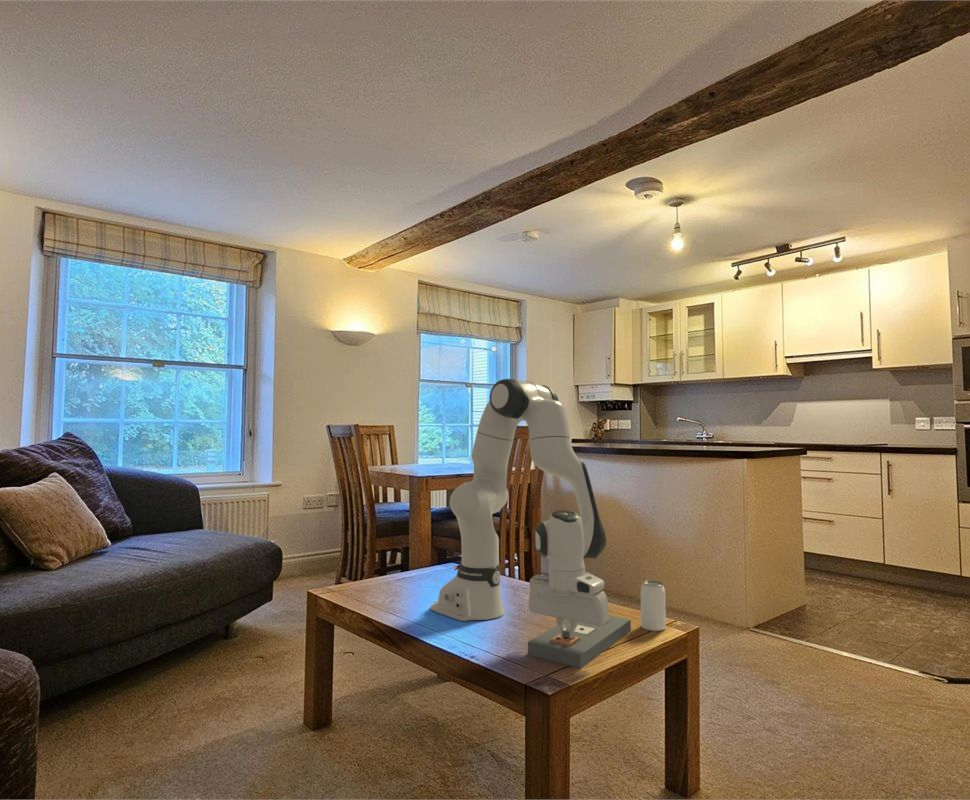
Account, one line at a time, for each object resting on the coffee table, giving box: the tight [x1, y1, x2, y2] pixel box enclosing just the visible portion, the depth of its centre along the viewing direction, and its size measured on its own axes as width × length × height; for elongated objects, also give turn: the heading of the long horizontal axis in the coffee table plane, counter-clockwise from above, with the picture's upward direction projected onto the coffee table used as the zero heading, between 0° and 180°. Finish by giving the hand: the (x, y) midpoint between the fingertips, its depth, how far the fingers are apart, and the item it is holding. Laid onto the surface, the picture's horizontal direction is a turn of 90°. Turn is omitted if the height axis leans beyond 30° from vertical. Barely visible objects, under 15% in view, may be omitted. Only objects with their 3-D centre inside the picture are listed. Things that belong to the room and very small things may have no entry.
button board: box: [527, 615, 632, 669], centre depth 150 cm, size 14×30×3 cm, turn 144°
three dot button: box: [551, 634, 579, 647], centre depth 142 cm, size 5×5×3 cm
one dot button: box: [575, 625, 595, 636], centre depth 150 cm, size 5×5×3 cm
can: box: [640, 580, 667, 632], centre depth 161 cm, size 6×6×12 cm
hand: (567, 637), depth 143 cm, fingers closed
